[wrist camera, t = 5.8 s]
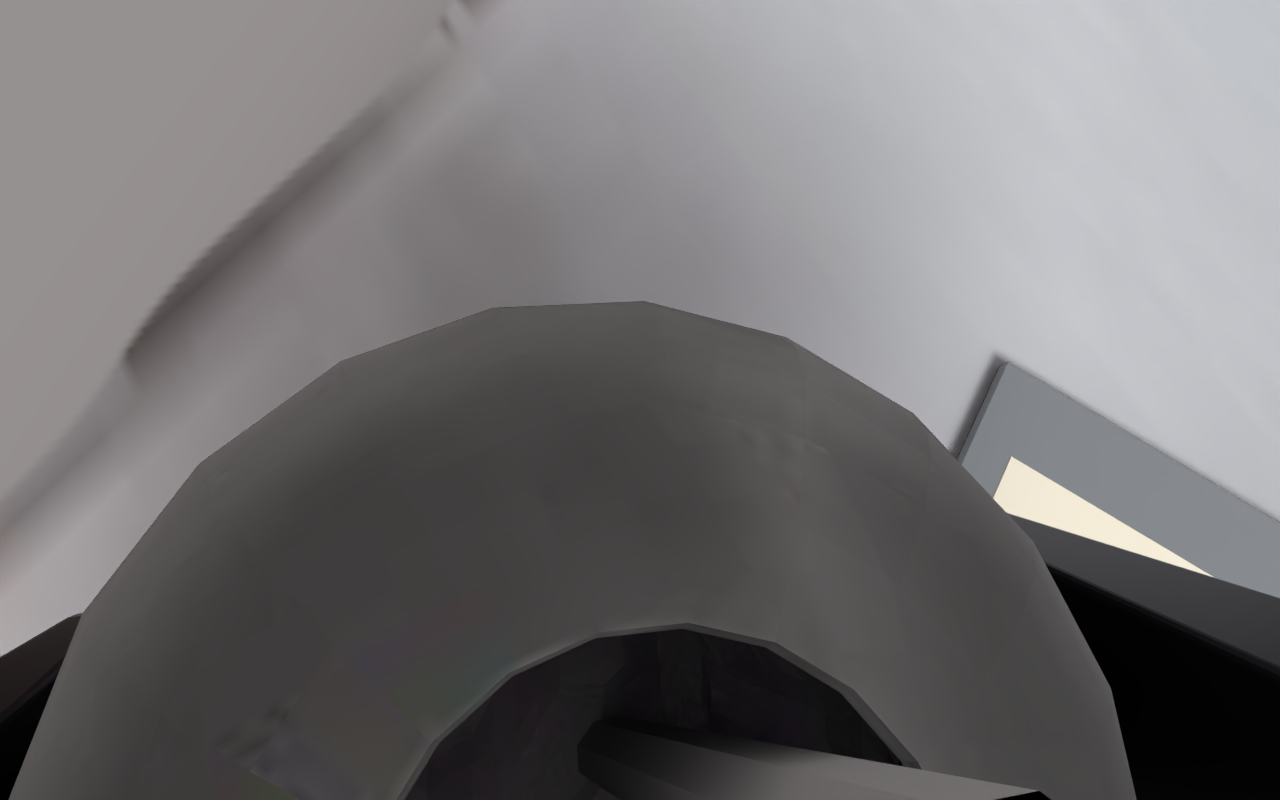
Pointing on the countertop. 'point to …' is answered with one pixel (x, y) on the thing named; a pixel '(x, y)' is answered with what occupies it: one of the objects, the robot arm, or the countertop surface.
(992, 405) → the letter card
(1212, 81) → the countertop surface
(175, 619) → the beverage cup
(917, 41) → the countertop surface
